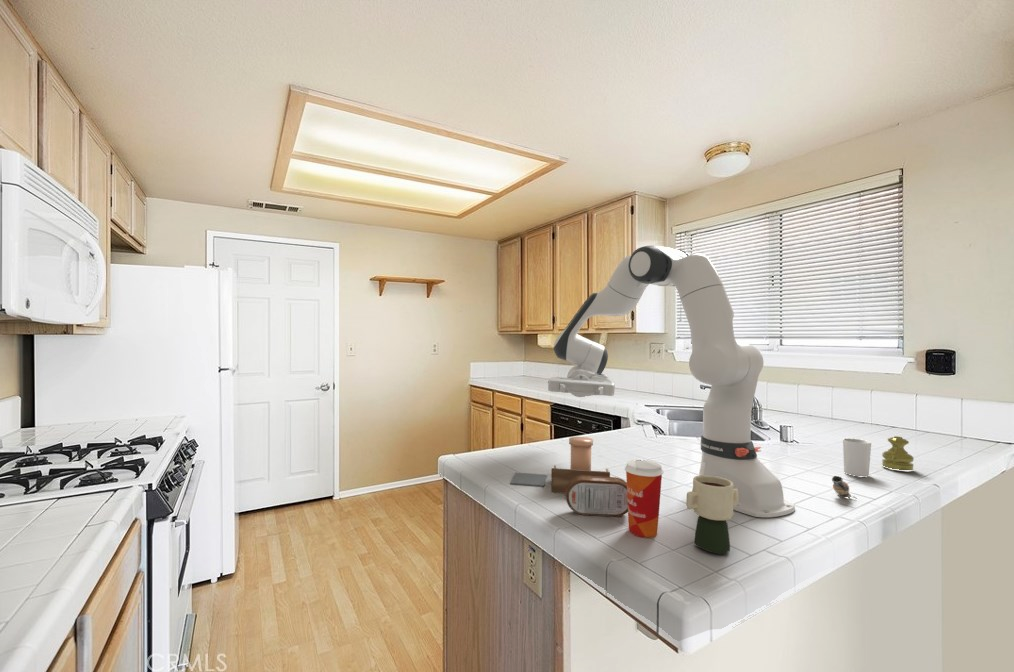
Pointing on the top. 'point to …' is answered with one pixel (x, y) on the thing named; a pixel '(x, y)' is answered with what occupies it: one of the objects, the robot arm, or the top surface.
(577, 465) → the peach capped cylinder
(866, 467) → the white cup
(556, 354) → the robot arm
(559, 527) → the top surface
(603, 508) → the tin
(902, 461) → the gold chess piece
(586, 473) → the wooden u-shaped open frame
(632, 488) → the paper cup
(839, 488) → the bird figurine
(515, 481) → the slate mat
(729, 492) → the character mug
